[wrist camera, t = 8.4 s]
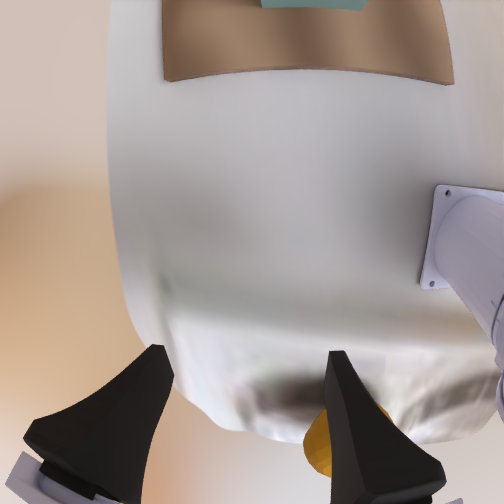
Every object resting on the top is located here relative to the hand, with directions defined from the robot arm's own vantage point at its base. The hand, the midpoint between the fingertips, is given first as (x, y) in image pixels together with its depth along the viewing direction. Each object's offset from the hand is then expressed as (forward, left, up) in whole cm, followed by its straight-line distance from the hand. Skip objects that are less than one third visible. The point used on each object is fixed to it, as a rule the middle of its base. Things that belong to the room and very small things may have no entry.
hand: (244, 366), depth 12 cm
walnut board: (-4, -20, -9) cm, 22 cm away
